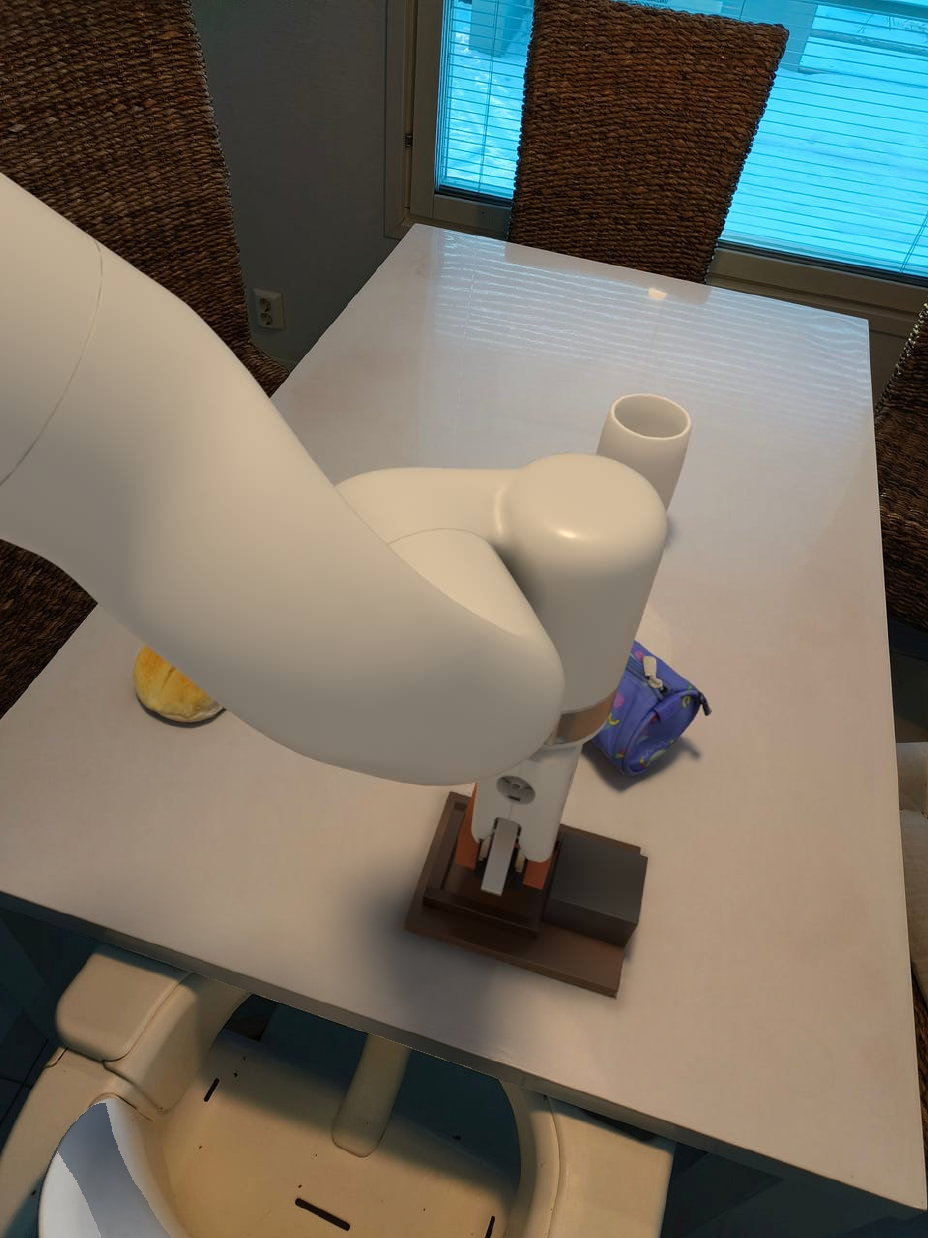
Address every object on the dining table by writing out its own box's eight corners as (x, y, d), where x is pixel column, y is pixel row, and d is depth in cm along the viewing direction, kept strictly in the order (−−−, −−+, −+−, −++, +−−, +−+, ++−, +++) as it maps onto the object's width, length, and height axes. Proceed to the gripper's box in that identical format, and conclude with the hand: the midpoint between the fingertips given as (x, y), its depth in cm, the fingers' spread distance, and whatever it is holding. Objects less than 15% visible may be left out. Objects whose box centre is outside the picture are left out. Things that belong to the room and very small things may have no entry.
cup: (590, 495, 94) (617, 382, 83) (665, 517, 92) (702, 404, 82) (570, 543, 88) (596, 427, 78) (650, 566, 86) (687, 452, 76)
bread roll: (184, 631, 76) (176, 600, 73) (261, 677, 73) (256, 646, 70) (112, 690, 71) (101, 659, 68) (192, 742, 68) (183, 712, 65)
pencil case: (695, 751, 71) (729, 680, 64) (622, 803, 67) (651, 733, 60) (526, 594, 82) (540, 518, 75) (455, 630, 78) (463, 554, 72)
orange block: (541, 890, 56) (550, 862, 53) (454, 863, 57) (458, 834, 54) (557, 825, 59) (566, 795, 56) (475, 801, 60) (479, 770, 57)
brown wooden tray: (614, 997, 57) (631, 968, 53) (403, 930, 59) (404, 897, 55) (637, 854, 64) (654, 819, 61) (449, 798, 66) (453, 761, 63)
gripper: (586, 836, 38) (533, 982, 52) (639, 584, 50) (585, 757, 63) (427, 789, 39) (416, 944, 53) (515, 553, 51) (487, 730, 64)
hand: (508, 841), depth 58 cm, fingers closed on orange block, 5 cm apart
